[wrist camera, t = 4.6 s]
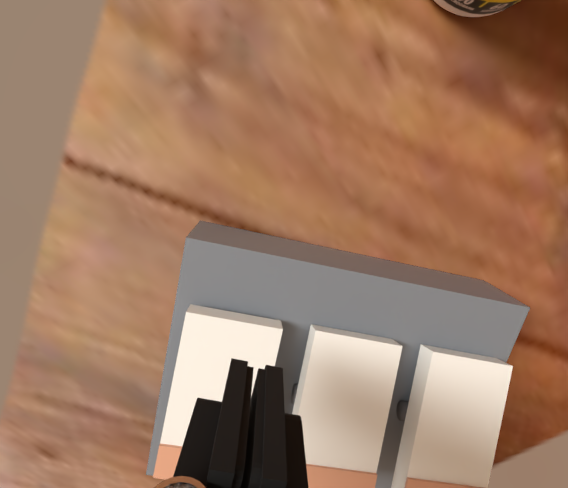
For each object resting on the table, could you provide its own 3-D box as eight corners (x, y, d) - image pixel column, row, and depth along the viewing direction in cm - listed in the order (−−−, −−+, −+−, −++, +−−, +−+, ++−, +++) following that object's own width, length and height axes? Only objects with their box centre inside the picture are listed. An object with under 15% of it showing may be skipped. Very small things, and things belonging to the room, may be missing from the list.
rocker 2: (392, 338, 18) (403, 347, 17) (360, 489, 18) (370, 510, 17) (310, 324, 18) (316, 331, 16) (278, 479, 18) (281, 499, 16)
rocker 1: (280, 320, 17) (283, 330, 16) (247, 470, 18) (247, 491, 17) (190, 304, 17) (185, 312, 15) (159, 458, 17) (152, 479, 16)
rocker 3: (495, 358, 19) (515, 367, 18) (466, 503, 19) (483, 523, 18) (420, 344, 19) (434, 352, 17) (389, 493, 18) (401, 513, 17)
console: (483, 280, 22) (544, 316, 18) (413, 459, 26) (448, 530, 21) (200, 220, 20) (181, 242, 15) (164, 424, 24) (139, 495, 19)
